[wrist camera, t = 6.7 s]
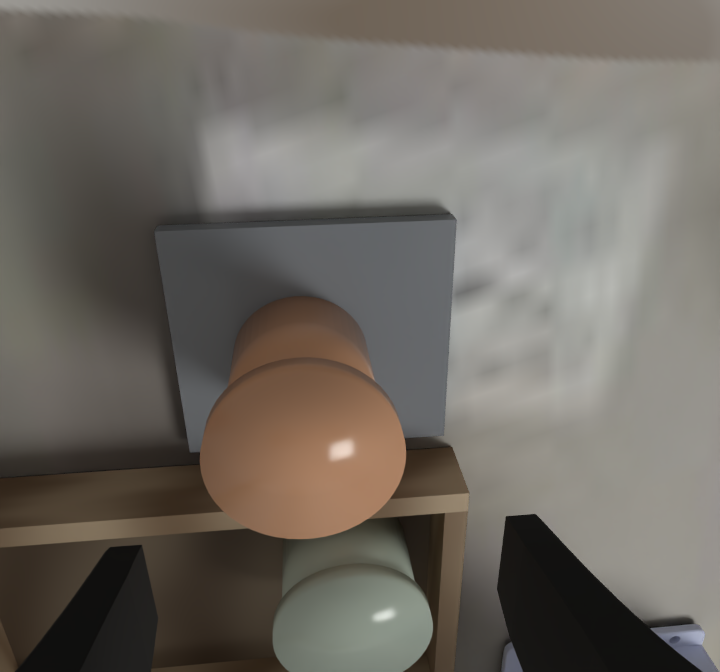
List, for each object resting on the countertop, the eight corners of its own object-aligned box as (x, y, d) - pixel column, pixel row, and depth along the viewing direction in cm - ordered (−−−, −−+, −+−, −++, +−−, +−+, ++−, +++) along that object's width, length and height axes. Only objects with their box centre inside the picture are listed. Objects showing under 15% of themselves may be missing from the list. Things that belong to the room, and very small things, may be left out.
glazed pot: (413, 485, 24) (436, 571, 21) (410, 587, 27) (429, 680, 23) (269, 496, 24) (266, 585, 20) (279, 599, 26) (278, 695, 23)
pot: (387, 287, 20) (418, 376, 15) (371, 424, 23) (394, 538, 18) (219, 280, 20) (197, 370, 15) (221, 421, 22) (202, 539, 17)
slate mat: (452, 213, 20) (456, 219, 20) (440, 426, 24) (443, 435, 23) (157, 225, 19) (154, 231, 19) (192, 442, 23) (189, 452, 22)
